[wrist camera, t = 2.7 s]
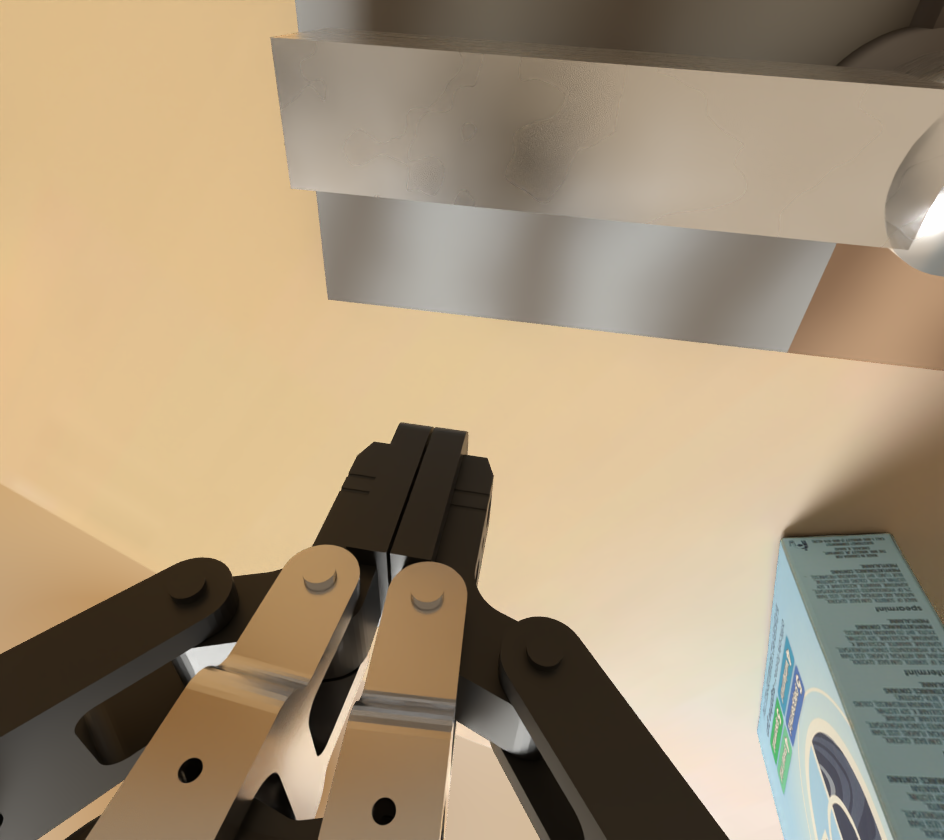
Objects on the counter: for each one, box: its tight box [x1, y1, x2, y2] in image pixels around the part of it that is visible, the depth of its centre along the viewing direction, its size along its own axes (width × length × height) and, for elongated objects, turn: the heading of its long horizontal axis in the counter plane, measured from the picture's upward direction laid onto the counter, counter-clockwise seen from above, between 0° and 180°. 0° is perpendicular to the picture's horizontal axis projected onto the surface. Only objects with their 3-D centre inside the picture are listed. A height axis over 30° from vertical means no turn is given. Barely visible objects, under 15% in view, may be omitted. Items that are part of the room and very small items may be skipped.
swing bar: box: [270, 28, 944, 277], centre depth 13 cm, size 17×4×4 cm, turn 87°
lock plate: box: [295, 0, 944, 371], centre depth 13 cm, size 30×18×6 cm, turn 87°
